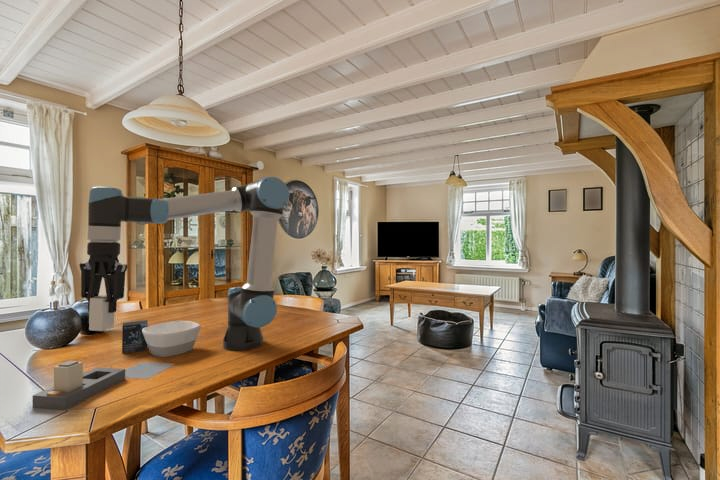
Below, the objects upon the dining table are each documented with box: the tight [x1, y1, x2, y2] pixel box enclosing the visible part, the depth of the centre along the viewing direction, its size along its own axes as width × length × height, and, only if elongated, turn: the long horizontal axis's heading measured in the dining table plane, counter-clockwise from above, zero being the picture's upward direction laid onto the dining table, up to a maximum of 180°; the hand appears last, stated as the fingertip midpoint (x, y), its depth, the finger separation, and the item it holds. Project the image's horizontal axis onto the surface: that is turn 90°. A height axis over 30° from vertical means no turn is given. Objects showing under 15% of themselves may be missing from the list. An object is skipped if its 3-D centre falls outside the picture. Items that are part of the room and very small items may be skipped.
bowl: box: [142, 320, 201, 358], centre depth 125 cm, size 18×18×9 cm
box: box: [121, 319, 149, 354], centre depth 126 cm, size 8×6×11 cm
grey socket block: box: [32, 367, 126, 411], centre depth 92 cm, size 9×18×4 cm, turn 173°
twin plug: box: [53, 360, 84, 393], centre depth 88 cm, size 4×4×9 cm
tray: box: [125, 361, 175, 380], centre depth 107 cm, size 12×12×1 cm
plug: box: [88, 294, 115, 332], centre depth 97 cm, size 4×4×9 cm
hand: (101, 323), depth 97 cm, fingers closed on plug, 4 cm apart
